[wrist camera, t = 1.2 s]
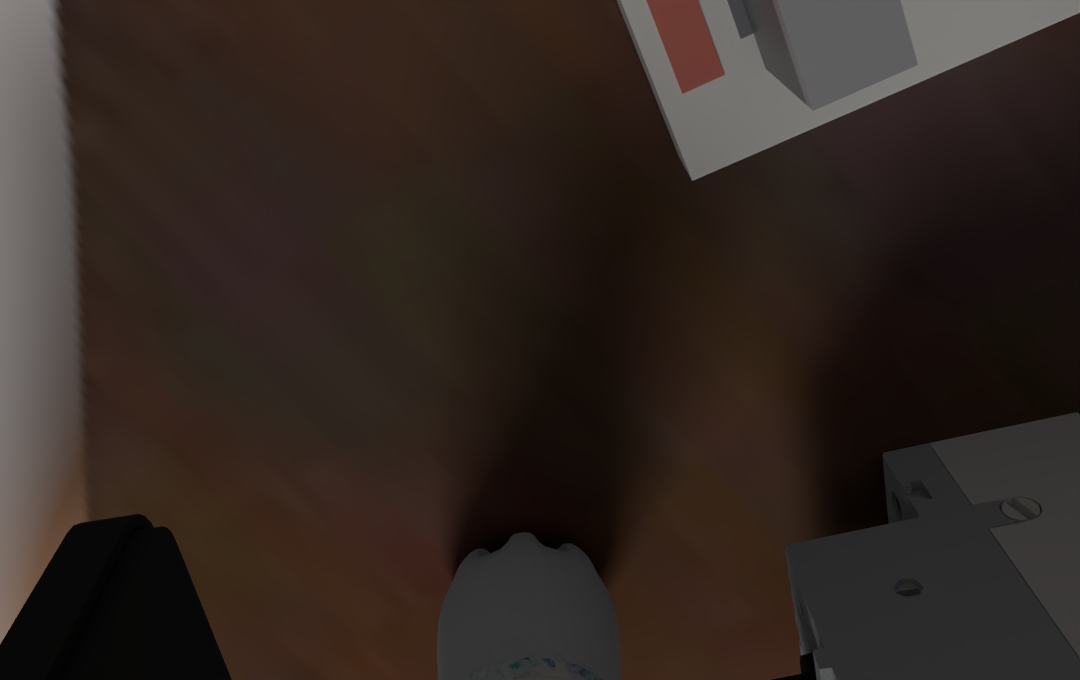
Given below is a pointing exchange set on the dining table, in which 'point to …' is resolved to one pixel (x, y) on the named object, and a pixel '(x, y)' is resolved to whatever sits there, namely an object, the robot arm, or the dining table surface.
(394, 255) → the dining table surface
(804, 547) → the circuit breaker
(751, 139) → the breaker panel
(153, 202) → the dining table surface
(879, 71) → the block
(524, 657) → the bottle
